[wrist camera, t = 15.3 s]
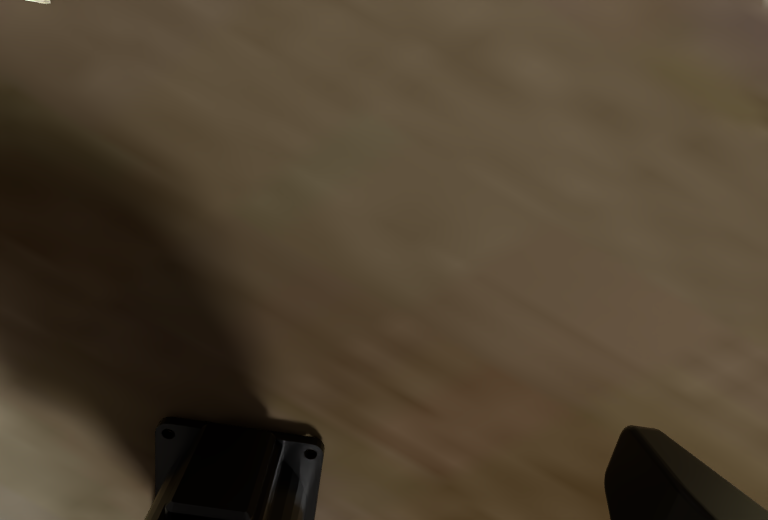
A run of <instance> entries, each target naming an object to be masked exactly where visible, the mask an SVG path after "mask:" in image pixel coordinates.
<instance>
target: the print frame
mask: <svg viewBox="0 0 768 520" xmlns="http://www.w3.org/2000/svg"><path fill="white" fill-rule="evenodd" d="M27 1H33V2H39V3H50V0H27Z"/></svg>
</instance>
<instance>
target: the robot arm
mask: <svg viewBox="0 0 768 520" xmlns="http://www.w3.org/2000/svg"><path fill="white" fill-rule="evenodd" d="M167 429H171V430H172V431H174V432H170V431H168V430H167ZM307 449H312V450H315V451H316V452H309V451H307ZM323 456H324V444H323V443H322V441H320V440H319V439H317V438H314V437H308V436H301V435H294V434H287V433H280V432H273V431H266V430H260V429H253V428H246V427H239V426H232V425H225V424H218V423H211V422H204V421H197V420H190V419H183V418H176V417H166V418H163V419H162V420H161V421H160V423H159V425H158V426H157V428H156V431H155V500H154V502H153V504H152V506H151V508H150V510H149V512H148V514H147V516H146V518H145V520H314V519H315V512H316V505H317V498H318V491H319V484H320V477H321V470H322V463H323ZM604 485H605V493H606V498H607V503H608V509H609V514H610V519H611V520H768V511H767V510H765V509H764V508H763V507H761V506H760V505H759V504H757V503H756V502H755V501H753V500H752V499H751V498H749V497H748V496H747V495H745V494H744V493H743V492H741V491H740V490H739V489H737V488H736V487H735V486H733V485H732V484H731V483H729V482H728V481H727V480H725V479H724V478H723V477H721V476H720V475H719V474H717V473H716V472H715V471H713V470H712V469H711V468H709V467H708V466H707V465H705V464H704V463H703V462H701V461H700V460H699V459H697V458H696V457H695V456H693V455H692V454H691V453H689V452H688V451H687V450H685V449H684V448H683V447H681V446H680V445H679V444H677V443H676V442H675V441H673V440H672V439H671V438H669V437H668V436H667V435H665V434H664V433H663V432H661V431H660V430H657V429H654V428H647V427H640V426H633V425H630V426H627V427H625V428H624V430H623V431H622V432H621V434H620V437H619V439H618V442H617V444H616V447H615V449H614V452H613V454H612V457H611V459H610V462H609V464H608V467H607V469H606V473H605V480H604Z"/></svg>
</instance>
